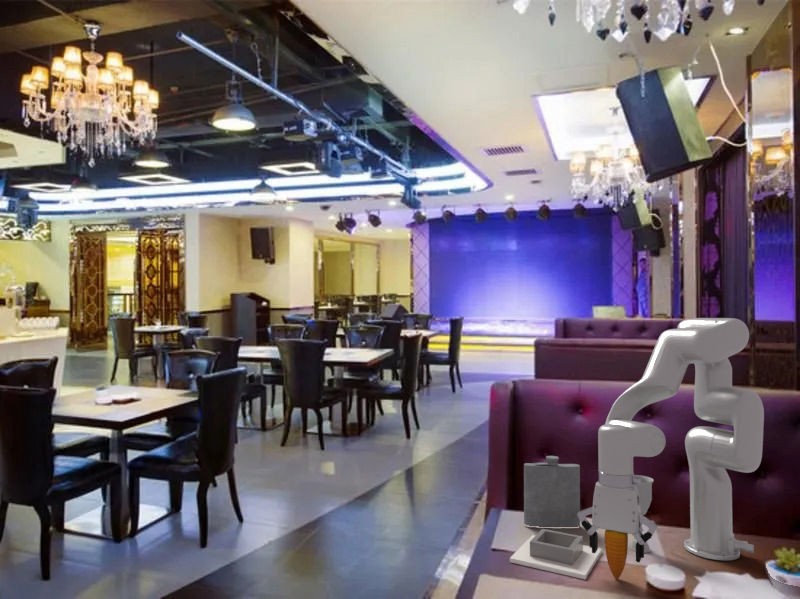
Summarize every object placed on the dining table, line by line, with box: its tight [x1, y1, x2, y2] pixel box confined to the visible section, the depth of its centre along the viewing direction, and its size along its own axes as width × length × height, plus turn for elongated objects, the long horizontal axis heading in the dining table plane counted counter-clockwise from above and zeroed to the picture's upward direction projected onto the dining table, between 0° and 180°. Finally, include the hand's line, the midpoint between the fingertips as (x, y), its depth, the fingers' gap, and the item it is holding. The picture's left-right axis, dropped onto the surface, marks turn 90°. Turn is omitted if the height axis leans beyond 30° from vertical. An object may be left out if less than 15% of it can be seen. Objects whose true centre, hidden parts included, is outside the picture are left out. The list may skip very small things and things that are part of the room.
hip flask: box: [523, 455, 581, 527], centre depth 164 cm, size 16×4×20 cm, turn 88°
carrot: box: [604, 529, 629, 580], centre depth 130 cm, size 5×5×15 cm
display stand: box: [509, 528, 603, 580], centre depth 142 cm, size 18×18×4 cm
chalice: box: [629, 474, 655, 554], centre depth 148 cm, size 7×7×18 cm
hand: (616, 555), depth 130 cm, fingers open, 9 cm apart
